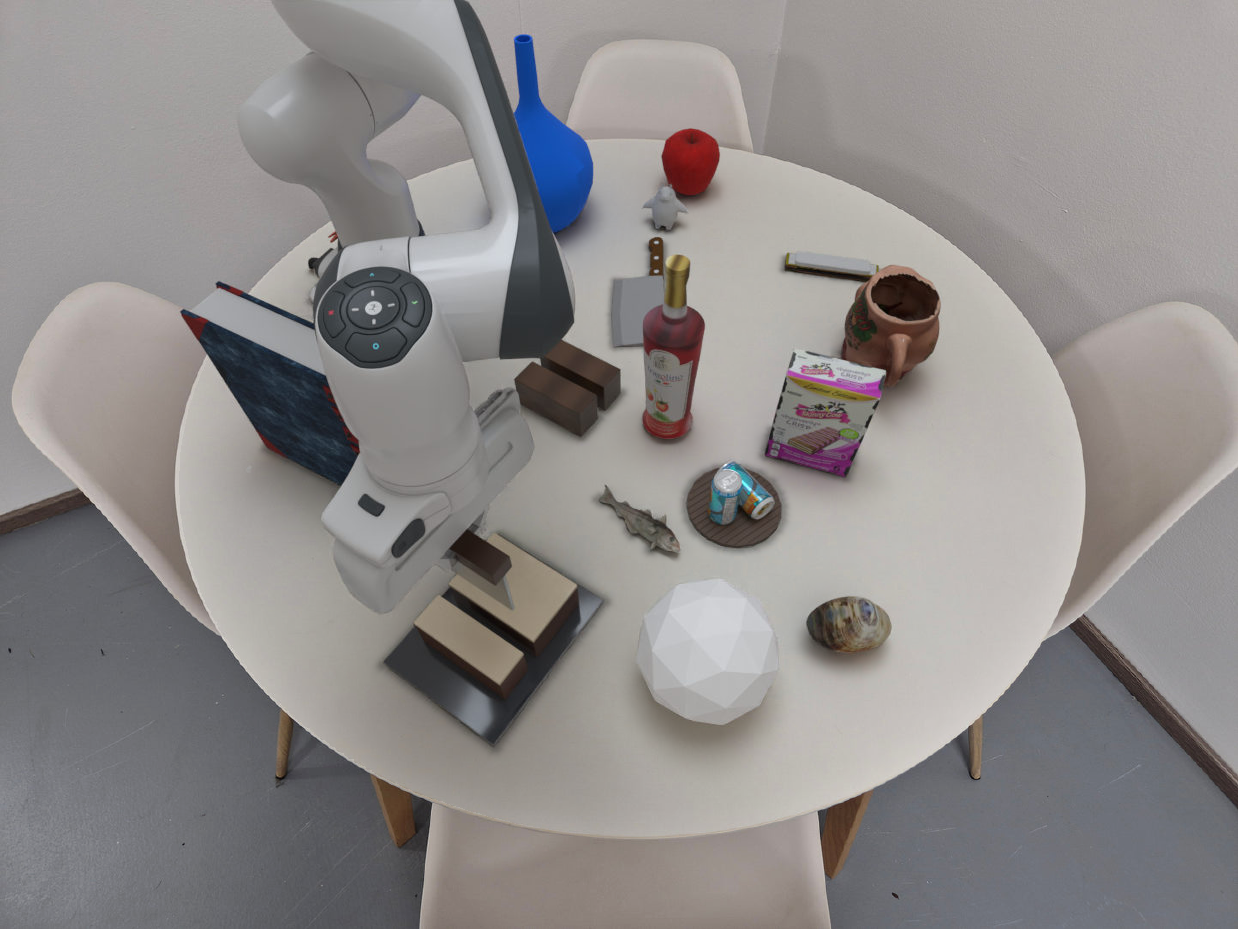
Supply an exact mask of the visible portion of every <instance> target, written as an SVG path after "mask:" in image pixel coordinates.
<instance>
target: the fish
mask: <svg viewBox="0 0 1238 929" xmlns="http://www.w3.org/2000/svg"><path fill="white" fill-rule="evenodd" d="M604 487H605V488H604V494H602V496H600V497H599V498H598V502H600V503H603V504H610V505H612V506H613V507H614V509H615V511H616V516H617V517H620V518H621V517H623V518H624V519H625V520H624V523H625V524H626V527H627V529H628V532H629V533H630V534H640V536H642V537H644V538H645V539H646V540H648V541H649V542H651V546H650V551H652V550H653V549H654V548H655V547H656V546H657V547H658V548H661V549H662V550H664V551H666V552H674V553H679V552H682V549H681V544H680V542H679V540H678V538H677V537H676V535H675V533H674V532H673V531H672V529H671V528H669V527H668V526H667V522H668V521H667V520H668V518H667V515H666V513H664V515H662V516H660V517H657V518H654V516H653V514H652V512H651V510H650V509H651V508H649V507H648V508H649V509H648V508H645V509H644V510H643V509H638V508H634V507H632V506H631V504H629V502H627V500H624V501H617V499H616V498H615V496H614V494H613V492H612V491H611V490H610V488H609V487H608V486H607V485H606V484H604Z"/></svg>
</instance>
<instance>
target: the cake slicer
mask: <svg viewBox="0 0 1238 929" xmlns="http://www.w3.org/2000/svg"><path fill="white" fill-rule="evenodd" d="M449 549H451V550H452V551H454V552H455V553H456V554H457V558H458V559H459V561H458V562H457V563H456V564H455V565H454V567H453V568H452V569H451V570H450V571H452V572H453V573H455V575H456V574H458V575H459V576H461V577H462V578H464V579H465V580H467V581H468V582H470V583H471V584H473V585H474V586H476V587H477V588H479V589H480V590H482V591H483V592H485V593H486V594H488V595H489V596H491V597H492V598H494V599H495V600H497V601H498V602H500V603H501V604H503V605H504V606H506V607H507V608H509V609H510V610H512V611H513V610H514V608H515V607H514V603H513V600H512V596H511V593H510V589H509V586H508V582H507V578H506V573H507V572H508V571H509V570H510V569H511V567H512V563H511V560H510V556H509V555H507V554H506V553H504V552H502V551H501V550H499V549H498V548H496V547H495V546H493V545H491V544H490V543H488V542H487V540H486V539H484V538H482V537H479V536H477V535H476V534H474V533H472V532H471V531H469V530H468V529H466V530H465V532H464V533H463V534H462V535H461V536H460V537H459V538H458V539H457V540H456V541H455V542H454V544H453V545H452V546H451V547H450V548H449Z"/></svg>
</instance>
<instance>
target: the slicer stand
mask: <svg viewBox="0 0 1238 929" xmlns="http://www.w3.org/2000/svg"><path fill="white" fill-rule="evenodd" d="M539 360H540V364H538V363H536V362H534V361H532V360H531V362H530V363H529V364H527V365H526V366H525V367H524V369H522V370H521V372H519V373H518V375H516V376H515V377H514V379H513V381H514V387H515V390H516V391H517V392H518V394H519V399H520V405H522V406H524V407H525V408H526V409H529V410H531V411H533V412H534V413H535V414H537V415H540V416H541V417H544V418H545V419H547V420H548V421H551V422H553V423H555V424H556V425H558V426H560V427H562V428H564V430H567V431H569V432H570V433H573V434H574V435H576V436H579V437H580V438H582V437H583V436H584V435H585V434H586V432H587V431H588V430H589V429H590V428H591V427H592V426H593V425H594V424H595V422H596V421H597V420H598V419H599V413H598V412H599V411H598V409H600V410H602V411H606V410H607V409H608V408H609V407H610V406H611V405H612V404H613V403H614V401H615V400H616V399H617V398H618V397H619V395H620V394H621V393H622V382H621V379H622V378H621V374H622V373H621V368H619V367H618V366H615V365H613V364H611V363H609V362H607V361H605V360H603V359H601V358H600V357H597V356H595V355H593V354H592V353H590V352H587V351H585V350H583V349H581V348H579V347H577V346H575V345H573V344H571V343H569V342H567V341H565V340H563V339H562V340H561V341H560V342H559V343H558V344H557V345H556V346H555V347H554V348H553V349H552V350H551V351H550V352H549V353H547V354H546V355H545V356H544V357H542V358H539Z"/></svg>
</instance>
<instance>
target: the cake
mask: <svg viewBox="0 0 1238 929" xmlns="http://www.w3.org/2000/svg"><path fill="white" fill-rule="evenodd" d="M486 541H487V542H488V543H490V544H491V545H493V546H495V547H496V548H498V549H499V550H501V551H502V552H504V553H506V554H507V555H509V556H510V560H511V563H512V567H511V569H510V570H509V571H508V572H507V573H506V578H507V582H508V586H509V589H510V593H511V596H512V600H513V603H514V607H515V608H514V610H513V611H512V610H510V609H509V608H507V607H506V606H504V605H503V604H501V603H500V602H498V601H497V600H495V599H494V598H492V597H491V596H489V595H488V594H486V593H485V592H483V591H482V590H480V589H479V588H477V587H476V586H474V585H473V584H471V583H470V582H468V581H467V580H465V579H464V578H462V577H461V576H459V575H458V574H456V573H455V576H453V577H452V579H450V581H449V582H448V586H449V587H448V588H447V590H445V592H444V593H443V594H442V595H440V596H441V597H442V598H444V599H445V600H447V601H448V602H450V603H451V604H453V605H454V606H456V607H457V608H458V609H460V610H461V611H463V612H464V613H466V614H467V615H469V616H470V617H472V618H473V619H474V620H476V621H477V622H479V623H480V624H482V625H483V626H485V627H486V628H488V629H489V630H490V631H492V632H493V633H495V634H496V635H498V636H499V637H501V638H502V639H504V640H505V641H507V642H508V643H509V644H511V645H512V646H514V647H515V648H517V649H518V650H520V651H521V652H523V654H524V657H525V661H526V664H527V668H528V671H527V672H526V674H525V675H524V676H523V677H522V679H521V680H520V681H519V683H518V684H517V685H516V686H515V688H514V689H513V690H512V692H511V693H510V694H509V696H508V697H507V698H506V699H504V698H502V697H501V696H499V695H498V694H497V693H495V692H494V691H493V690H491V689H490V688H488V687H487V686H486V685H484V684H483V683H481V682H480V681H479V680H477V679H476V678H474V677H473V676H472V675H470V674H469V673H468V672H466V671H465V670H463V669H462V668H461V667H459V666H458V665H456V664H455V663H454V662H452V661H451V660H450V659H448V658H447V657H445V656H444V655H443V654H441V653H440V652H438V651H437V650H436V649H434V648H433V647H431V646H430V645H429V644H427V643H426V642H425V641H423V639H422V637H421V635H420V634H419V632H418V630H417V628H416V626H415V625H414V626H413V628H412V629H411V630H410V631H409V632H408V633H407V634H406V635H405V636H404V638H403V639H402V640H401V641H400V642H399V644H398V645H397V646H396V647H395V648H394V649H393V650H392V651H391V652H390V653H389V654H388V655H387V657H386V658H385V659H384V660H383V662H382V663H383V665H385V666H386V667H387V668H389V669H390V670H391V671H393V672H394V673H395V674H396V675H398V676H399V677H401V678H402V679H403V680H405V681H406V682H407V683H409V684H410V685H412V686H413V687H414V688H416V689H417V690H418V691H419V692H421V693H422V694H423V695H425V696H426V697H428V699H430V700H431V701H433V702H434V703H435V704H436V705H438V706H439V707H440V708H442V709H443V710H444V711H445V712H447V713H449V714H450V715H451V716H453V718H455V719H457V721H459V722H460V723H462V724H463V725H465V727H467V728H469V730H471V731H473V733H475V734H476V735H478V736H479V737H480V738H482V739H483V740H485V741H486V742H487V743H488V744H490V745H491V746H492V747H496V745H497V743H498V742H499V741H500V740H501V738H502V737H503V736H504V735H505V733H506V732H507V730H508V729H509V728H510V727H511V725H512V724H513V722H514V721H515V720H516V719H517V717H518V716H519V714H520V713H521V712H522V710H523V709H524V708H525V706H526V705H527V704H528V702H529V701H530V700H531V699H532V698H533V696H534V695H535V693H536V692H537V691H538V690H539V688H540V687H541V685H542V684H543V683H544V682H545V681H546V679H547V678H548V676H549V675H550V673H551V672H552V671H553V670H554V668H555V667H556V665H558V663H559V662H560V660H562V657H563V656H564V655H565V654H566V652H567V651H568V650H569V649H570V647H571V646H572V644H573V643H574V642H575V640H576V639H577V638H578V636H579V635H580V634H581V632H582V631H583V630H584V628H585V627H586V626H587V625H588V623H589V622H590V620H591V619H592V618H593V617H594V616H595V614H596V613H597V611H598V610H599V609H600V608H601V606H602V605H603V603H604V599H603V598H601V597H600V596H598V595H597V594H595V593H593V592H592V591H590V590H589V589H587V588H586V587H585V586H582V585H580V584H579V583H577V582H576V581H574V580H573V579H571V578H570V577H568V576H566V575H565V574H564V573H562V572H560V571H558V570H557V569H555V568H554V567H552V566H550V565H549V564H547V563H546V562H544V561H542V560H541V559H540V558H538V557H536V556H534V555H533V554H531V553H530V552H529V551H526V550H525V549H523V547H520V546H519V545H517V544H516V543H514V542H512V541H511V540H509V539H508V538H506V537H505V536H503V535H501V534H500V533H496V532H493V533H492V534H491V535H490V536H489V537H488V538H487V540H486Z"/></svg>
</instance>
